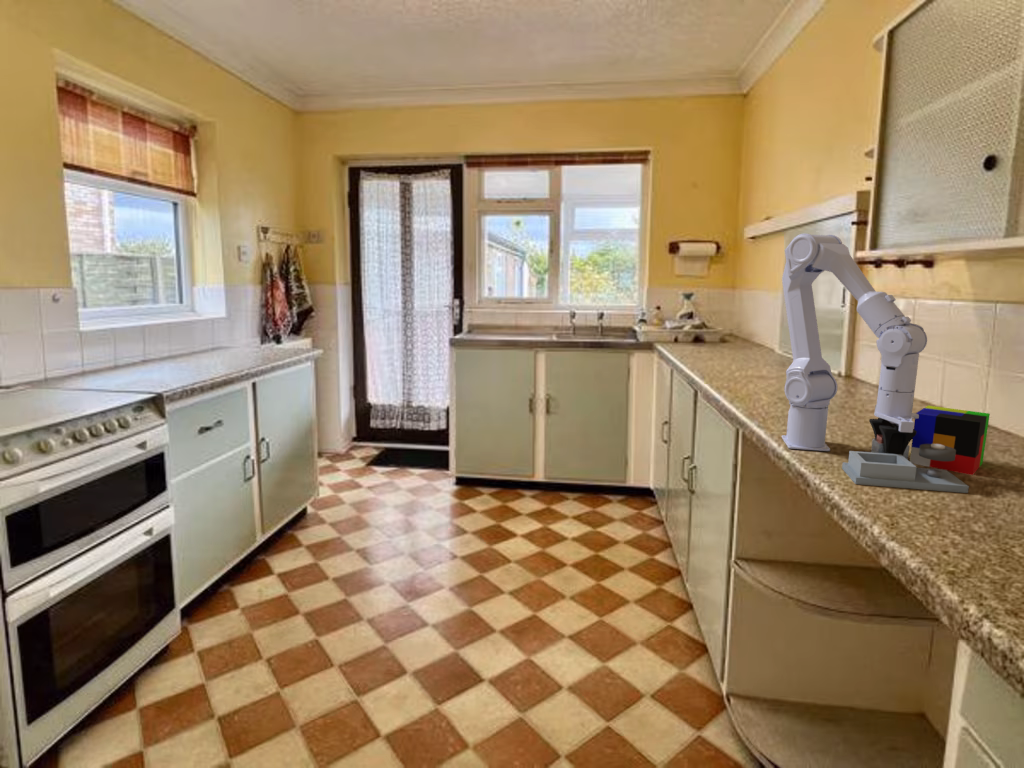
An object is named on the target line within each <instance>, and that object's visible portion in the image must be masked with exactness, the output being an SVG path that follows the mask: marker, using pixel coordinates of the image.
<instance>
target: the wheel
mask: <svg viewBox="0 0 1024 768" xmlns="http://www.w3.org/2000/svg"><path fill="white" fill-rule="evenodd" d="M955 455H956V450H955V449H954V448H951V447H948V446H944V445H941V444H921V445H920V448H919V456H921V457H923V458H927V459H931V460H936V461H954V460H955Z"/></svg>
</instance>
